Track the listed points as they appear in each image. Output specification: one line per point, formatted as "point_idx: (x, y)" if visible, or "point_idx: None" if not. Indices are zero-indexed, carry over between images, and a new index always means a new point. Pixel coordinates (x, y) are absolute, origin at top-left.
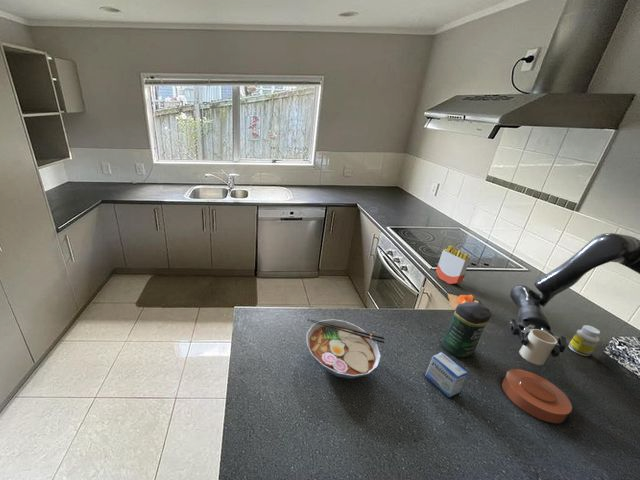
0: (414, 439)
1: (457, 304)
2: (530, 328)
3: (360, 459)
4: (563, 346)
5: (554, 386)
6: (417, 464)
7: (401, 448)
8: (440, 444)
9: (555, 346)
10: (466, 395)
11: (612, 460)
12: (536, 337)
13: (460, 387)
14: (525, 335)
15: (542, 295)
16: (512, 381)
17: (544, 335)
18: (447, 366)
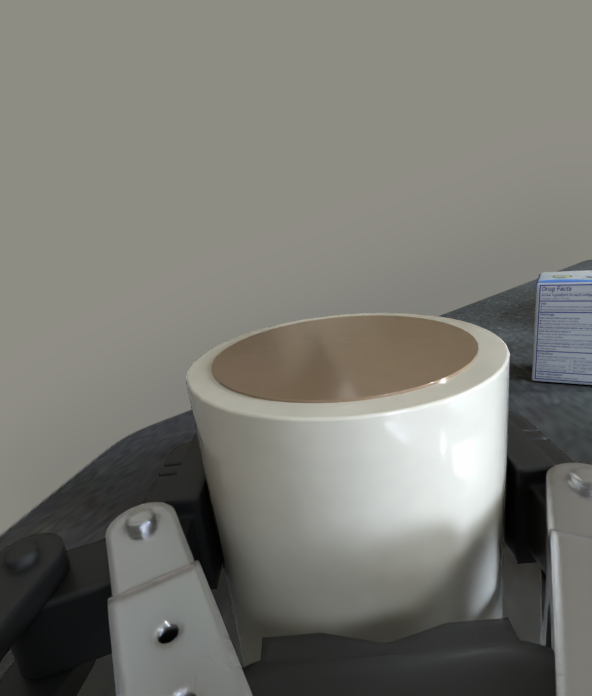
0: (507, 313)
1: None
2: (589, 605)
3: (530, 288)
4: (54, 535)
5: None
6: (479, 305)
7: (509, 304)
8: (474, 323)
9: (187, 473)
10: (511, 388)
11: (158, 436)
12: (407, 314)
13: (533, 353)
14: (523, 442)
15: None
16: None
17: (329, 357)
18: (587, 271)
